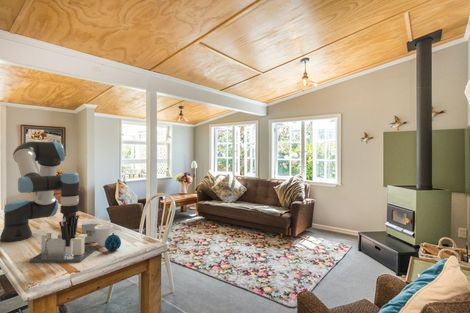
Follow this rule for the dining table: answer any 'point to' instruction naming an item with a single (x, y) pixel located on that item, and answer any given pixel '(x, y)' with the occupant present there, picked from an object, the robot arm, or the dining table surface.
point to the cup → (102, 233)
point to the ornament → (112, 242)
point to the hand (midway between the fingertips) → (69, 252)
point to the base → (64, 258)
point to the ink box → (89, 230)
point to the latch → (79, 244)
